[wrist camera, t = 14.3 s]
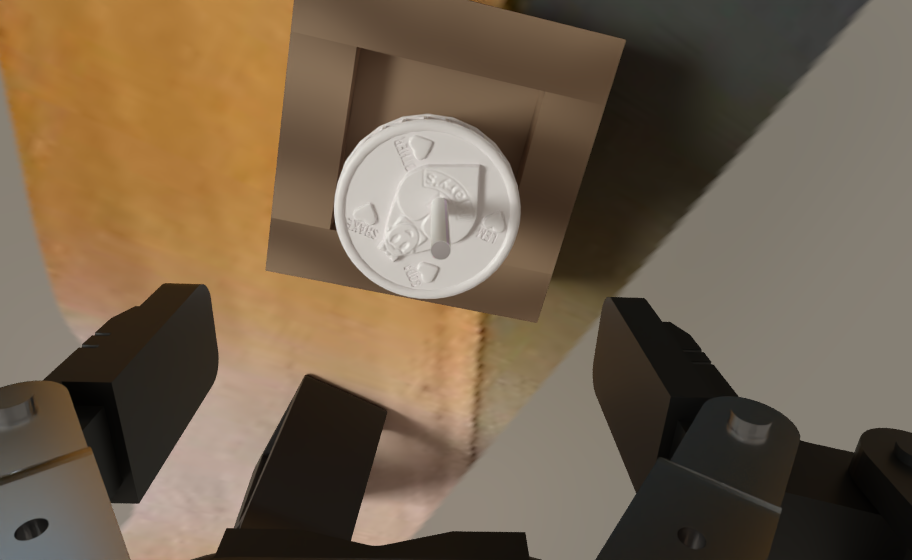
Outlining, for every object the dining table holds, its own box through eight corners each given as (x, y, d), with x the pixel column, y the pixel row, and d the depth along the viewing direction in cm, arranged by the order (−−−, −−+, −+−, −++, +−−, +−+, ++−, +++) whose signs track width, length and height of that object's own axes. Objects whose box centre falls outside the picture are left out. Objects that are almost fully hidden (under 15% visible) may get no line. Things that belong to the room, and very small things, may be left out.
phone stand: (306, 372, 39) (254, 511, 28) (388, 408, 40) (368, 555, 29) (254, 467, 42) (187, 626, 31) (331, 498, 43) (294, 661, 32)
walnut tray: (327, -30, 30) (298, -43, 24) (591, 35, 31) (626, 39, 25) (295, 228, 35) (265, 270, 29) (521, 273, 37) (537, 323, 31)
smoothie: (522, 157, 29) (593, 265, 16) (429, 244, 31) (425, 405, 18) (430, 56, 27) (425, 87, 14) (335, 154, 29) (254, 263, 16)
